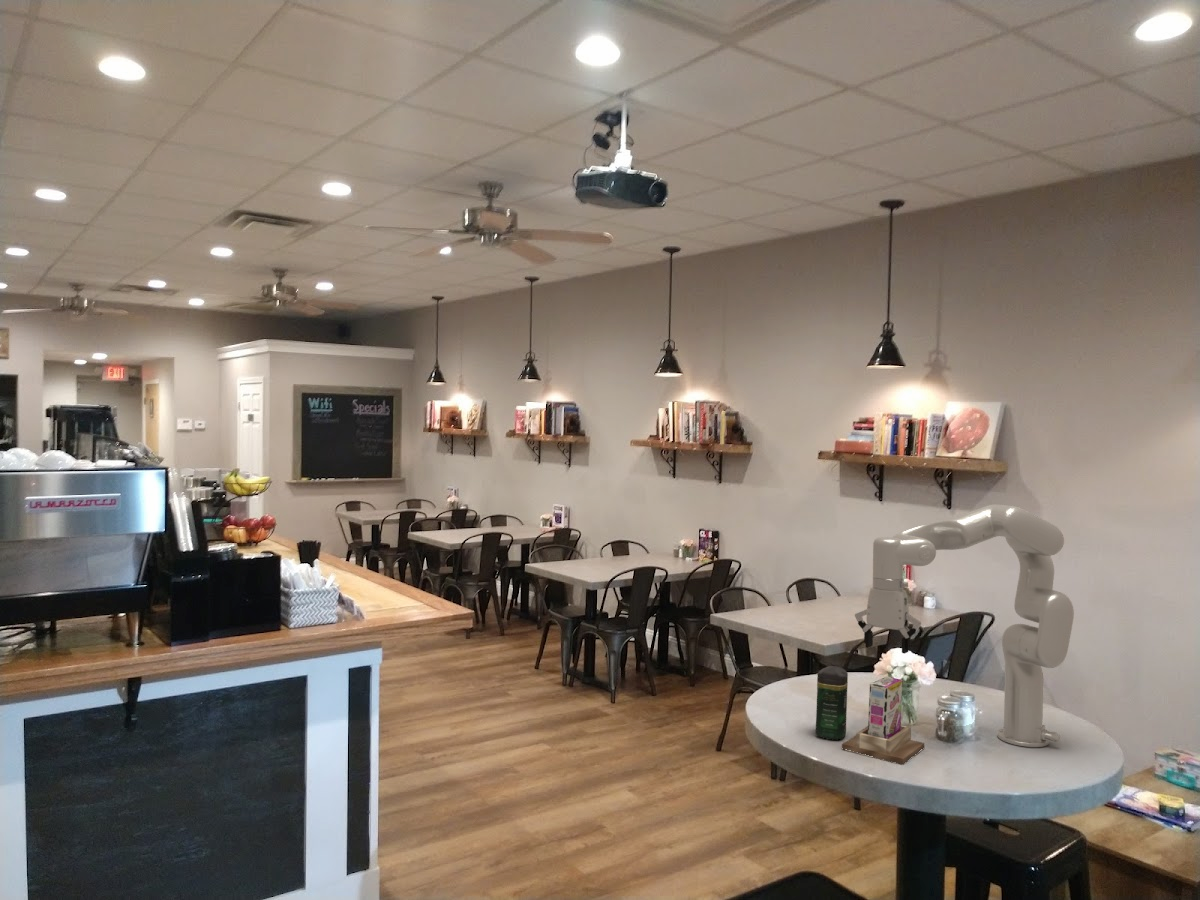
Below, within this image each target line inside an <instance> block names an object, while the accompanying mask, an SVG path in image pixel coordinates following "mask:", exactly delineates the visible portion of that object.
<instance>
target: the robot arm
mask: <svg viewBox="0 0 1200 900" xmlns="http://www.w3.org/2000/svg"><path fill="white" fill-rule="evenodd" d="M996 537H1003V538H1005V540H1006V542H1007V544H1008V546H1009V547H1010V548H1011V549H1012V551H1014V553H1015V555H1016V557H1017V559H1018V563H1019V575H1018V581H1017V585H1016V593H1015V598H1014V611H1015V613H1016V614H1017V616H1019V617H1020V618H1022V619H1025V620H1028V621H1030V622H1034V623H1036V624H1037V623H1038V626H1037V627H1036V626H1033V625H1029V624H1023V623H1015V624H1012V625H1009V626H1008V627H1007V628H1006V629H1005V630H1004V632H1003V634H1002V638H1001V644H1002V652H1003V657H1004V667H1005V668H1004V671H1005V672H1004V701H1003V703H1004V707H1003V713H1004V714H1003V729H1000V730H998V731H997V734H996V735H997V737H998V738H999V740H1001V741H1003V742H1005V743H1007V744H1011V745H1015V746H1018V747H1025V748H1026V747H1027V748H1043V747H1046V746H1048V745H1049V741H1053V742H1056V743H1060V741H1061V740H1060V739H1061V735H1060V734H1058V733H1057V732H1055V731H1050V730H1048V729H1046V725H1045V724H1043V716H1044V710H1043V709H1044V686H1045V685H1044V682H1045V681H1044V672H1043V668H1047V669H1054V668H1057V667H1059V666H1060V665H1062V664H1063V663H1064V661H1065V659H1066V657H1067V654H1068V650H1069V647H1070V641H1071V640H1070V639H1071V635H1072V629H1073V623H1074V615H1075V610H1074V606H1073V602H1072V601H1071V600H1070V597H1068V596H1067V594H1065V593H1064V592H1061V591H1059V590H1058V591H1057V590H1053V588H1054V579H1055V565H1054V562H1053V559H1052V557H1051V556H1055V555H1057V554H1058V553H1059V552H1060V551H1061V550H1062V549H1063V547H1064V544H1065V538H1064V534H1063V532H1062V531H1061V529H1060V528H1058V526H1056V525H1055V524H1053V523H1052V522H1050V521H1047V520H1045V519H1043V518H1042V517H1040V516H1038V515H1035V514H1034V513H1032V512H1030V511H1028V510H1026V509H1024V508H1021V507H1019V506H1015V505H1006V504H999V503H998V504H995V503H994V504H989V505H985V506H982V507H980V508H977V509H974V510H972V511H969V512H966V513H964V514H960V515H959V516H956V517H953V518H949V519H944V520H939V521H936V522H930V523H928V524H922V525H919V526H915V527H911V528H909V529H907V530H905V531H902V532H899V533H897V534H895V535H893V536H892V537H891V536H890V537H889V536H880V537H877V538H875V539H874V540H873V543H872V545H873V546H872V548H873V549H872V587H871V588H870V590H869V595H868V599H867V605H866V609H864V610H862V611H859V612H856V613H855V614H854V617H855V619H856V621H857V624H858V626H859V627H860V628H861V629H862V632H863V637H864V638H863V641H864V642H863V643H864V644H865V648H867V649H869V648H871V647H872V646H873V645H874V644H873V642H874V641H873V638H874V636H873V635H874V634H873V633H874V632H873V630H872V629H873V628H874V627H875V628H879V629H880V628H881V629H888V630H889V629H890V630H896V631H899V632H900V633H901V635H902V636H903V637H902V638H901V653H902V654H906V653H909V651H910V650H911V637H912V636H913V635H915V634H916V633H917V632H918V630H919V628H920V627H921V625H922V622H921V621H920V620H918V619H917V618H915V617H914V616H912V615H911V614H910V608H909V601H908V599H909V598H908V594H907V591H906V590H904V589H905V588H908V587H909V582H907V581H904V565H905V566H914V567H926V566H928V565H930V564H931V563H932V562H933V561H934V560H935V558H936V555H937V551H941V550H942V551H943V550H944V551H945V550H946V551H947V550H949V551H952V550H954V551H956V550H964V549H967V548H970V547H972V546H975V545H978V544H980V543H983V542H986V541H988V540H991V539H994V538H996ZM864 616H866V622H865V620H864V619H863V617H864ZM910 624H912V628H910V629H909V628H908V627H909V626H910ZM1042 667H1043V668H1042Z"/></svg>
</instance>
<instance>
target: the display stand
mask: <svg viewBox="0 0 1200 900" xmlns="http://www.w3.org/2000/svg"><path fill="white" fill-rule="evenodd" d="M911 733H912V727H911V726H908V725H907V726H906V725H902V724H901V731H900V732H898V733H897V734H895V735H894V736H892V737H891V738H889V739H884V738H880V737H876V736H872V735H868V725H867V726H865V727H863V728H862V729H860V730H858V731H857V732H856V733H855V736H853V737H851V738H849V739H848V740H846V741H845V742H843V743H842V744H841V749H842V748H843V749H847V750H851V751H854V752H858V753H861V754H866V755H869V756H873V757H876V758H875V759H877V758H880V759H879V760H881V759H884V760H883V761H885V760H887V761H886V762H889V761H892V762H891V763H893V762H896V763H895V764H897V763H899V764H898V765H902V764H903V765H904V763H905V762H906V763H907V762H909V761H910V760H911V759H912V758H911V757H912V756H914V755H915V754H917V753H918V752H919V751H920V750H921V749H923V748H924V749H925V742H921V741H918V740H913V739H911V736H912V735H911ZM924 749H923V750H924ZM919 753H920V752H919ZM919 753H918V754H919ZM861 754H860V755H861ZM918 754H917V755H918ZM869 756H868V757H869ZM915 756H916V755H915ZM915 756H914V757H915ZM873 757H872V758H873ZM910 758H911V759H910ZM909 759H910V760H909ZM908 760H909V761H908ZM906 763H905V764H906Z"/></svg>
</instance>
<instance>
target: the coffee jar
mask: <svg viewBox="0 0 1200 900" xmlns="http://www.w3.org/2000/svg"><path fill="white" fill-rule="evenodd" d="M848 674H849V673H848V672H847V670H845V669H844V668H843V667H841V666H835V665H833V666H832V665H828V666H826V667H823V668H821V669H820V670H819V671H818V673H817V675H816V676H817V679H816V685H817V686H816V712H815V713H816V714H815V717H816V718H815V735H816V736H817V737H819V738H822V737H823V738H822V739H824V738H827V739H826V740H828V739H832V740H838V739H840V740H842V739H843V738H844V737H845V736H846V734H847V709H848V707H847V706H848V678H849V677H848V676H849V675H848Z"/></svg>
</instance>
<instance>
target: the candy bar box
mask: <svg viewBox="0 0 1200 900" xmlns="http://www.w3.org/2000/svg"><path fill="white" fill-rule="evenodd" d="M903 684H904V683H903V679H899V678H895V677H888V676H885V677H883V678H880V679H877V680H876V681H874V682H870V683H869V695H868V696H869V697H868V700H869V702H868V723H867V724H868V725H867V726H868V735H872V736H876V737H880V738H884V739H889V738H891V737H892V736H894V735H895V734H897V733H898V732H900V731H901V725H902V707H903V706H902V705H903Z"/></svg>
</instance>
